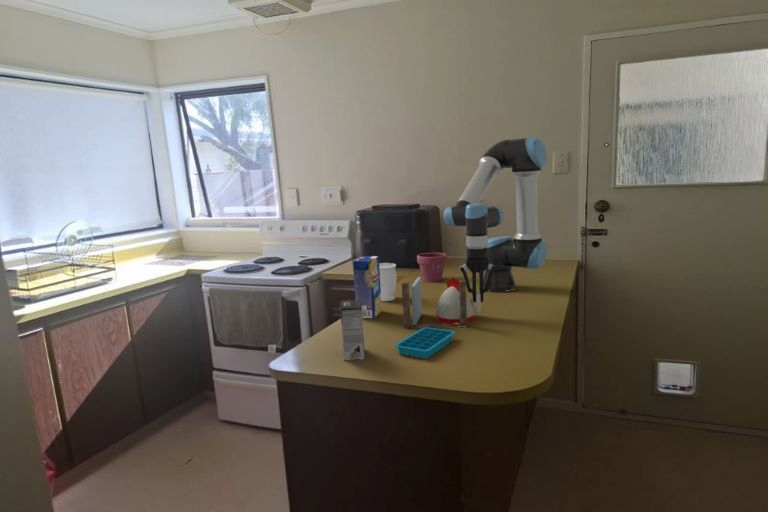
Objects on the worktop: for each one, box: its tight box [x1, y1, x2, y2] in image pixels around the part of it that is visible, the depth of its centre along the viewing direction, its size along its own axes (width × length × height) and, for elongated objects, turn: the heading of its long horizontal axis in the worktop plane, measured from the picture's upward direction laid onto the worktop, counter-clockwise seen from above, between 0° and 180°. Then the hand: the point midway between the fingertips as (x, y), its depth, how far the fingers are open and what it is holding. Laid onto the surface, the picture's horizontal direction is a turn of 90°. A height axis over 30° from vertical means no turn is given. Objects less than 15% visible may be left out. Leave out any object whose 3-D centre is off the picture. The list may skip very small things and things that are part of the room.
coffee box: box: [339, 299, 365, 361], centre depth 153 cm, size 9×6×16 cm
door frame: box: [401, 279, 468, 330], centre depth 176 cm, size 22×4×16 cm, turn 86°
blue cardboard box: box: [352, 255, 383, 319], centre depth 194 cm, size 7×11×22 cm, turn 164°
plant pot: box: [416, 252, 447, 283], centre depth 249 cm, size 14×14×13 cm
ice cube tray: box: [394, 327, 456, 359], centre depth 158 cm, size 12×20×3 cm, turn 147°
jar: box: [379, 262, 398, 302], centre depth 217 cm, size 11×10×15 cm
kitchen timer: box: [435, 277, 475, 324], centre depth 185 cm, size 14×14×15 cm
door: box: [410, 276, 423, 325], centre depth 185 cm, size 15×3×14 cm, turn 168°
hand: (478, 310), depth 186 cm, fingers closed
